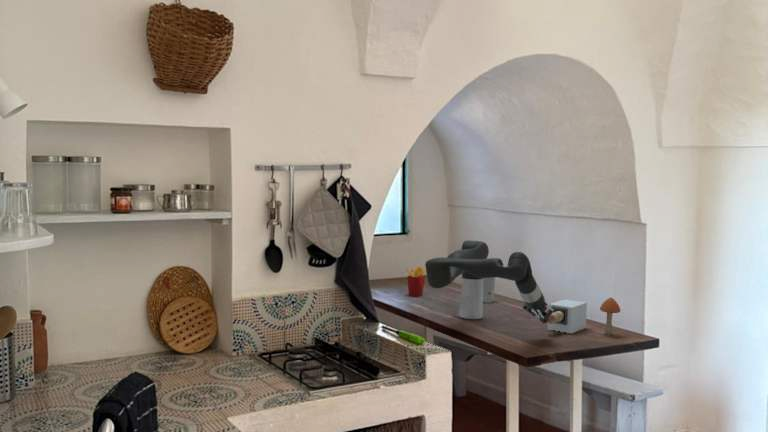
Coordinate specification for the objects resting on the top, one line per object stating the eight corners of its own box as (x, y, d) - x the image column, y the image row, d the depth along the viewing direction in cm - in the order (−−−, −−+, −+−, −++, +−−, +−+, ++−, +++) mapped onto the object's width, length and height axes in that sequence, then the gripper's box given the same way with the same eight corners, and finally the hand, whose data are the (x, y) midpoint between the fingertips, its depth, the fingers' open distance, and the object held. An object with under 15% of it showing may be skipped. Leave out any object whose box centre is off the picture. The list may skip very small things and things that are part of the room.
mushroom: (616, 337, 297) (618, 299, 296) (596, 335, 301) (597, 297, 300) (621, 334, 304) (623, 296, 303) (601, 331, 308) (603, 294, 307)
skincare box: (473, 301, 365) (474, 269, 363) (477, 299, 371) (478, 267, 370) (491, 303, 361) (492, 270, 360) (494, 301, 368) (495, 268, 367)
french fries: (406, 295, 377) (406, 265, 375) (414, 293, 383) (415, 264, 382) (421, 298, 372) (422, 267, 371) (430, 295, 379) (430, 265, 377)
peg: (554, 324, 297) (554, 314, 297) (545, 323, 300) (545, 313, 300) (568, 320, 307) (568, 310, 307) (558, 318, 309) (559, 308, 309)
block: (570, 333, 302) (571, 307, 301) (547, 329, 309) (548, 304, 308) (585, 327, 314) (586, 302, 313) (563, 324, 320) (564, 299, 319)
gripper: (512, 299, 287) (526, 326, 297) (543, 304, 279) (557, 332, 289) (519, 284, 290) (533, 311, 301) (551, 288, 282) (564, 316, 293)
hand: (545, 321), depth 295 cm, fingers closed
